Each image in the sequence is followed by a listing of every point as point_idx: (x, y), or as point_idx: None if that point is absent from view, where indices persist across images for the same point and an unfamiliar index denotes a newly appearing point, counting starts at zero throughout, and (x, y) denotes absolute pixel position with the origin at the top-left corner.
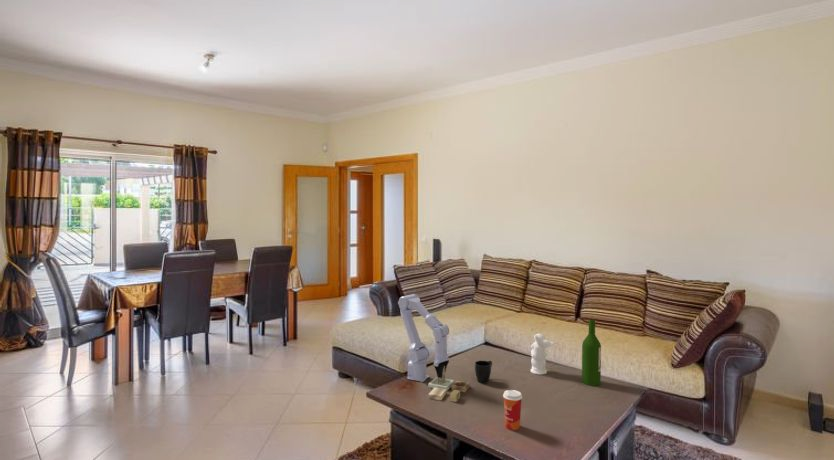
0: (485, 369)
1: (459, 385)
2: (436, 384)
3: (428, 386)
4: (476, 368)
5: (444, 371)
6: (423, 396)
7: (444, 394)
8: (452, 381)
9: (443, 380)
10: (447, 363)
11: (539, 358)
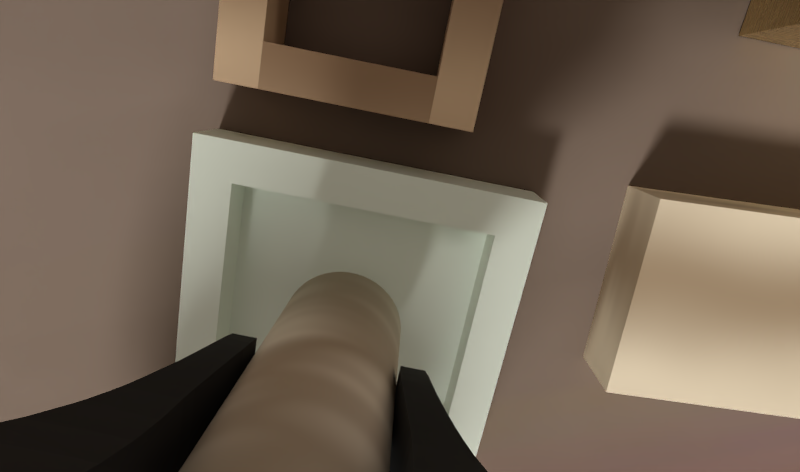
0: None
1: (285, 15)
2: None
3: None
4: None
5: (329, 385)
6: (752, 457)
7: (719, 200)
8: (259, 150)
9: (381, 306)
10: (34, 458)
11: None
